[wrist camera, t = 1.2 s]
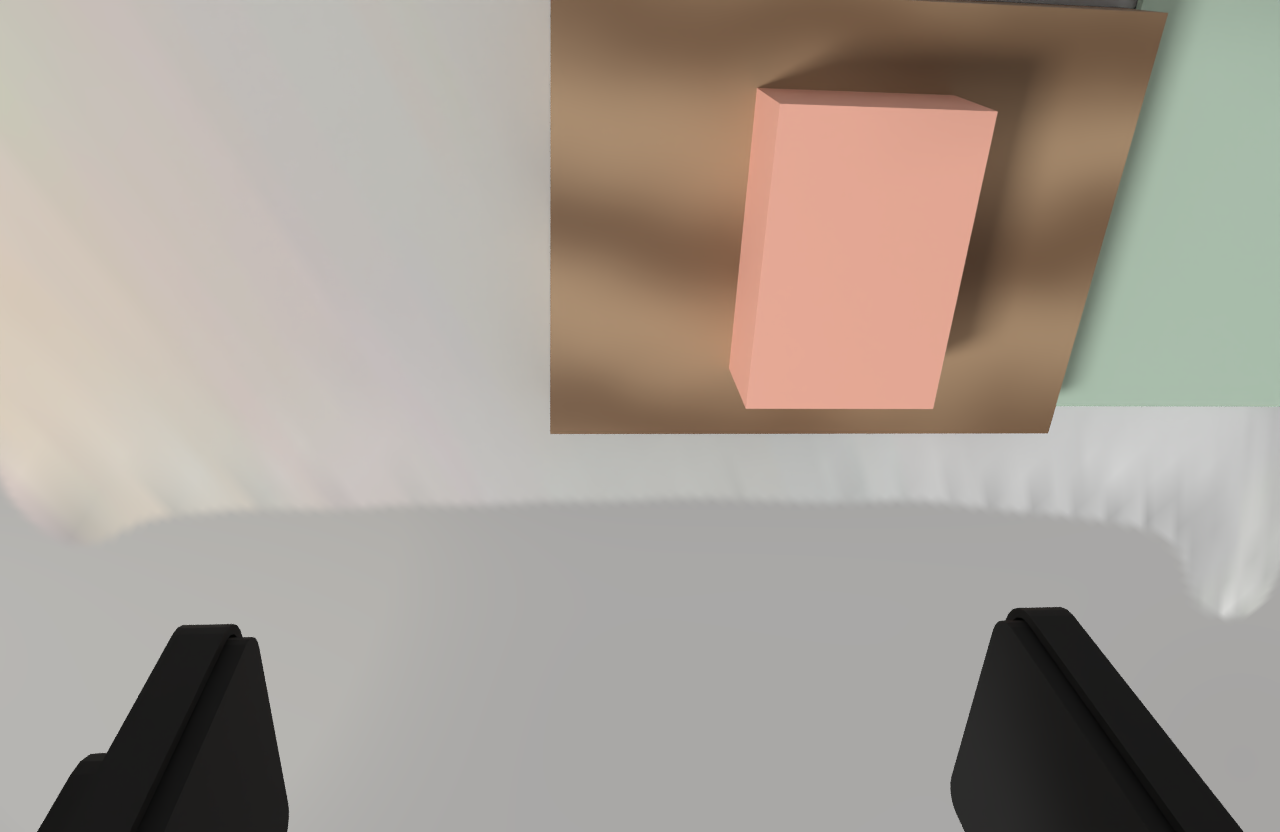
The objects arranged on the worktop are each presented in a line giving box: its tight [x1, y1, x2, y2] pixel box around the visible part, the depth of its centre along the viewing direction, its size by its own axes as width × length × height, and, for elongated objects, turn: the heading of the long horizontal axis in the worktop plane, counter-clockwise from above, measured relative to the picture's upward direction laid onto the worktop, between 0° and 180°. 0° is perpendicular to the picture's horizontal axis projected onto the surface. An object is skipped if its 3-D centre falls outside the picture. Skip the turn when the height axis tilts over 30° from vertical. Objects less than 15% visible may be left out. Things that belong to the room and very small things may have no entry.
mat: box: [1056, 0, 1280, 407], centre depth 32 cm, size 15×11×1 cm
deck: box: [550, 0, 1168, 434], centre depth 30 cm, size 14×18×2 cm
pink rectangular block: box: [729, 88, 998, 409], centre depth 28 cm, size 9×6×3 cm, turn 178°
